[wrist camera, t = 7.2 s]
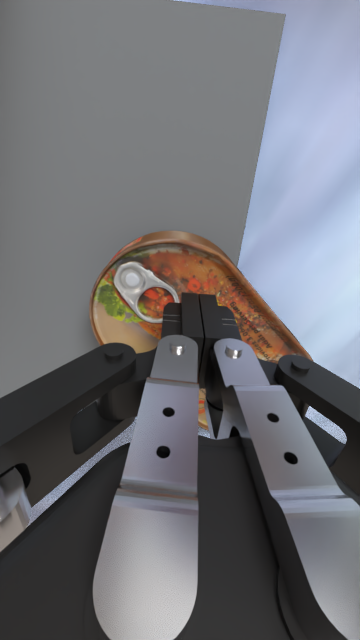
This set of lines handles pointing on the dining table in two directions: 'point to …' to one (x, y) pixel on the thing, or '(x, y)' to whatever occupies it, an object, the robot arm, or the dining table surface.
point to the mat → (117, 150)
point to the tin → (166, 286)
